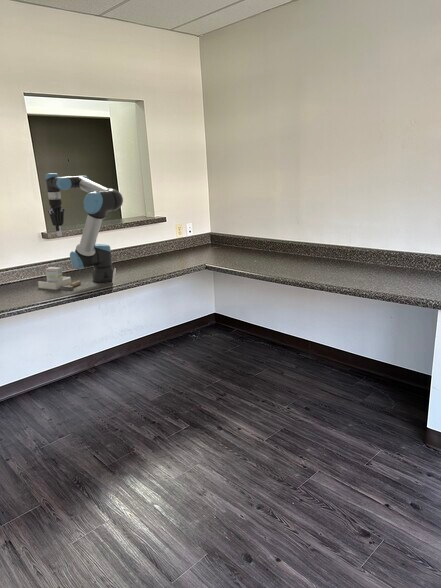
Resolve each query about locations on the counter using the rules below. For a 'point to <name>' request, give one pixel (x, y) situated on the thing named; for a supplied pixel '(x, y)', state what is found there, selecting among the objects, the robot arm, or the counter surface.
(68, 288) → the scraper
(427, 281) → the counter surface
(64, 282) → the frame
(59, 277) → the ink box
